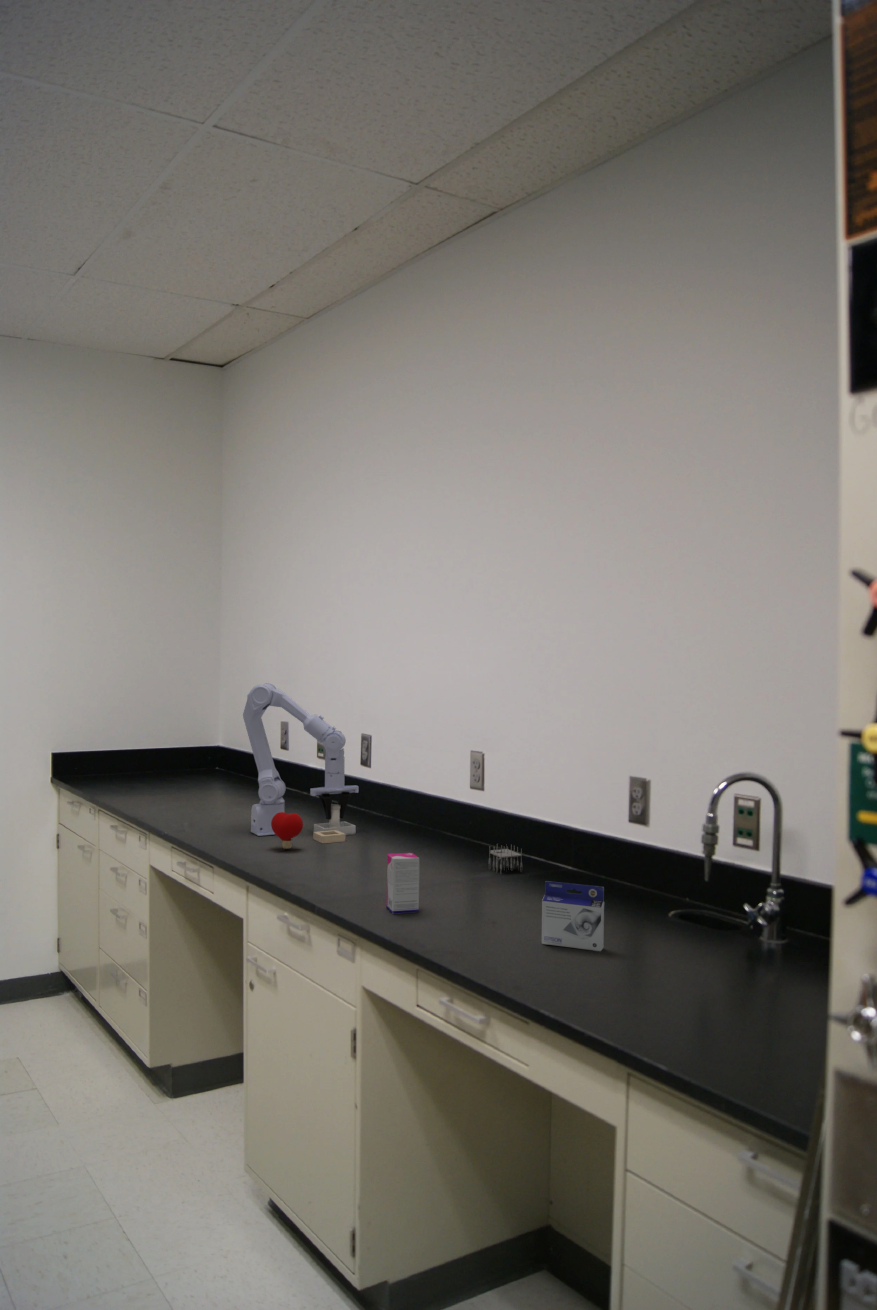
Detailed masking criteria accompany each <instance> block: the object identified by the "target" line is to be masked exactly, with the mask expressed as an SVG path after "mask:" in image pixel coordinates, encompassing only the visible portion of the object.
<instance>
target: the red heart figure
mask: <svg viewBox="0 0 877 1310" xmlns="http://www.w3.org/2000/svg"><path fill="white" fill-rule="evenodd" d="M271 827H272V830H273V832H274V833H275V834H274V835H275V836H276V837H278V838H279V839H280V840H281V847H282V848H283V850H285V851H289V850H290V849H291V848H292V847H293V838H295V837H297V836H298V835H300V834H301V833H302V830H303V828H304V822H303V818H302V817H301V816H300V815H299V814H298V813H295V812H294V813H289V814H288V813H287V812H285V811H284V812H280V813H277V814H276V815H275V816H274V817H273V818H272V821H271Z"/></svg>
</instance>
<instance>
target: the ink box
mask: <svg viewBox="0 0 877 1310" xmlns="http://www.w3.org/2000/svg"><path fill="white" fill-rule="evenodd" d="M544 889H545V890H544V895H543V898H542V899H541V945H550V946H557V947H563V948H564V947H565V948H574V949H579V950H580V949H581V950H586V951H587V950H588V951H594V952H602V950H603V949H604V940H605V939H604V936H605V935H604V933H605V931H604V929H605V928H604V925H605V922H604V921H605V901H604V900H605V899H604V898H605V897H604V896H605V887H604V886H599V885H589V884H580V883H579V884H578V883H570V882H558V881H549V880H545V881H544ZM573 890H575V891H578V892H581V893H575V892H574V893H573V892H568V891H573Z"/></svg>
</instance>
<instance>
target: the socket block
mask: <svg viewBox="0 0 877 1310" xmlns="http://www.w3.org/2000/svg"><path fill="white" fill-rule="evenodd" d="M312 834H313V838H312V839H313V840H314V841H316V842H319V843H321V844H330V843H331V844H332V843H340V842H343V843H344V842H346V835H345V834H344V833H342V832H340V831H337V830H331V831H320V832H314V831H313V832H312Z"/></svg>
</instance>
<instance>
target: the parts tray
mask: <svg viewBox="0 0 877 1310" xmlns="http://www.w3.org/2000/svg"><path fill="white" fill-rule="evenodd" d="M331 830H337V831H340V832H342V833H344V834H345V836H351V835H352V836H353V835H356V831H357V830H356V825H355V824H353V823H350V822H347V821H340V827H333V828H329V822H325V823H324V822H323V823H313V832H320V831H331Z"/></svg>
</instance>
